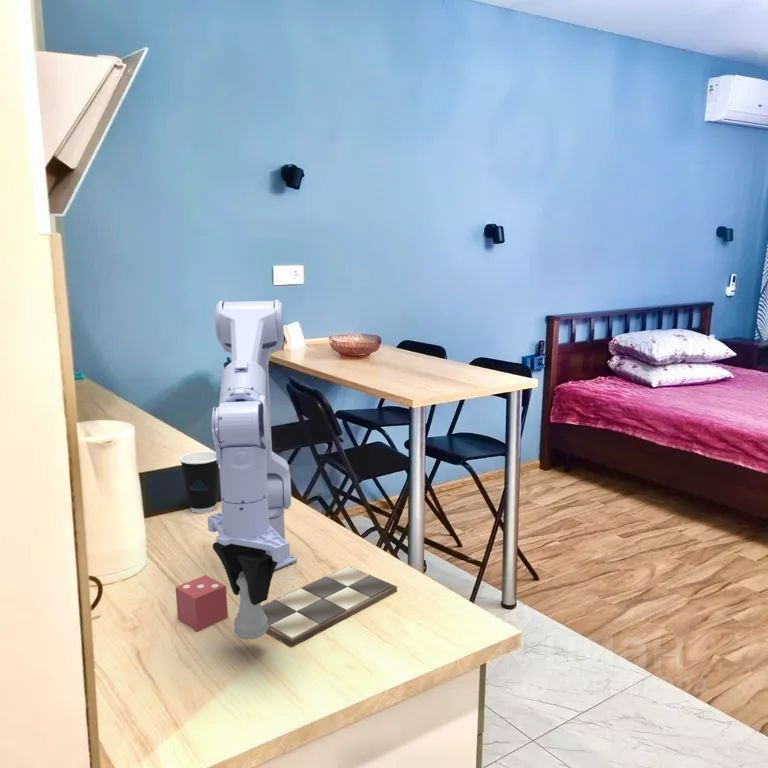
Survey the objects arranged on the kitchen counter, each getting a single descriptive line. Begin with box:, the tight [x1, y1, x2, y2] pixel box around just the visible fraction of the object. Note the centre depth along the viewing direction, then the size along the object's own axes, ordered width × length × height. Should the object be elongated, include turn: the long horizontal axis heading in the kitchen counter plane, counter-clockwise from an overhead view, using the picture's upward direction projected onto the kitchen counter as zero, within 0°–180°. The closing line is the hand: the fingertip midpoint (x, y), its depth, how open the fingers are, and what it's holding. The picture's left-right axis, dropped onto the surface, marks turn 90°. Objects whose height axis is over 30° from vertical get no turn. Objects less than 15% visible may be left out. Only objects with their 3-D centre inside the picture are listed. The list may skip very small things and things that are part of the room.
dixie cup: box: [178, 450, 220, 514], centre depth 143 cm, size 8×8×11 cm
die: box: [175, 574, 229, 632], centre depth 102 cm, size 5×5×5 cm
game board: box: [261, 565, 398, 648], centre depth 105 cm, size 11×21×1 cm, turn 137°
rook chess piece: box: [233, 571, 269, 640], centre depth 92 cm, size 4×4×8 cm
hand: (250, 596), depth 92 cm, fingers closed on rook chess piece, 3 cm apart
